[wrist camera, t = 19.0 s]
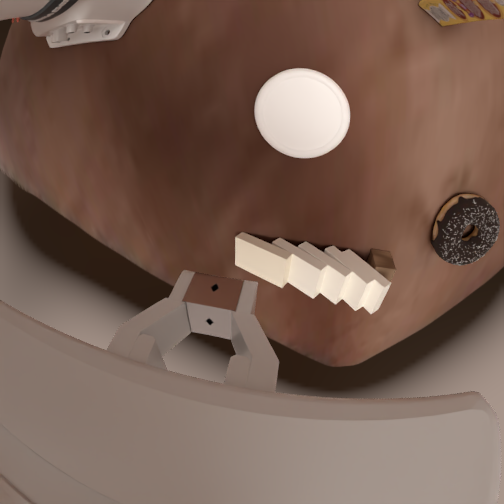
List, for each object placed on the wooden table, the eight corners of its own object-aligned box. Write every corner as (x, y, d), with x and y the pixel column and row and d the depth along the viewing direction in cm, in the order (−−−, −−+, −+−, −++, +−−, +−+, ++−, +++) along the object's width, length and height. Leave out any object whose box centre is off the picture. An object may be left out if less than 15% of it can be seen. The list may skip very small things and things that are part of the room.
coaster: (362, 125, 27) (368, 131, 24) (292, 165, 32) (290, 176, 29) (312, 53, 23) (313, 50, 20) (241, 100, 28) (234, 103, 25)
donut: (437, 187, 29) (449, 201, 26) (498, 193, 26) (512, 206, 23) (423, 255, 35) (431, 272, 32) (481, 254, 33) (491, 270, 29)
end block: (359, 279, 40) (362, 298, 37) (371, 248, 36) (376, 266, 33) (377, 282, 40) (381, 300, 36) (390, 251, 36) (396, 269, 33)
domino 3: (293, 273, 40) (335, 304, 35) (298, 245, 37) (345, 276, 32) (300, 268, 41) (342, 298, 36) (305, 241, 38) (352, 271, 33)
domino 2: (269, 269, 40) (313, 298, 36) (272, 241, 37) (320, 270, 33) (276, 265, 41) (319, 292, 37) (279, 237, 38) (327, 264, 34)
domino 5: (333, 279, 39) (371, 314, 34) (341, 252, 36) (384, 287, 31) (340, 275, 40) (378, 309, 34) (349, 248, 37) (391, 283, 31)
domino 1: (235, 264, 41) (282, 288, 37) (235, 236, 38) (286, 259, 34) (241, 259, 42) (287, 281, 38) (242, 231, 39) (292, 253, 35)
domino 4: (318, 275, 40) (355, 310, 34) (325, 248, 37) (367, 283, 31) (325, 272, 40) (362, 306, 35) (333, 245, 37) (374, 279, 32)
